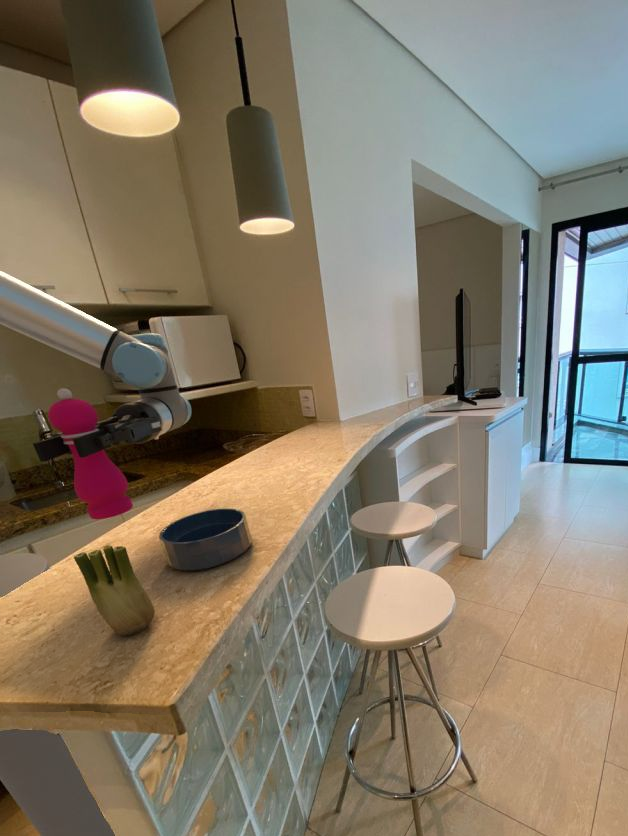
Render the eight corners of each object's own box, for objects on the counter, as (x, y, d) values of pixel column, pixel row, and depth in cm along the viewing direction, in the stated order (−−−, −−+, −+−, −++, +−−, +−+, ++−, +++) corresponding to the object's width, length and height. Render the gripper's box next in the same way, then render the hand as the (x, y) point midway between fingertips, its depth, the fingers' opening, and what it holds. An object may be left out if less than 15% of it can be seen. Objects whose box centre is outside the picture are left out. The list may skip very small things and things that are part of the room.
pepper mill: (115, 503, 72) (68, 386, 65) (146, 503, 70) (102, 383, 62) (76, 520, 66) (20, 393, 58) (109, 521, 64) (54, 390, 56)
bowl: (151, 565, 70) (141, 537, 68) (215, 530, 81) (208, 505, 79) (207, 579, 64) (197, 548, 62) (268, 539, 75) (261, 512, 73)
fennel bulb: (102, 636, 53) (64, 556, 48) (134, 613, 57) (102, 537, 53) (136, 642, 51) (100, 559, 46) (166, 617, 55) (135, 539, 51)
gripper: (193, 434, 81) (130, 468, 60) (104, 444, 81) (8, 481, 60) (182, 396, 78) (111, 417, 57) (89, 406, 78) (-16, 431, 57)
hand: (59, 450), depth 58 cm, fingers closed on pepper mill, 5 cm apart
